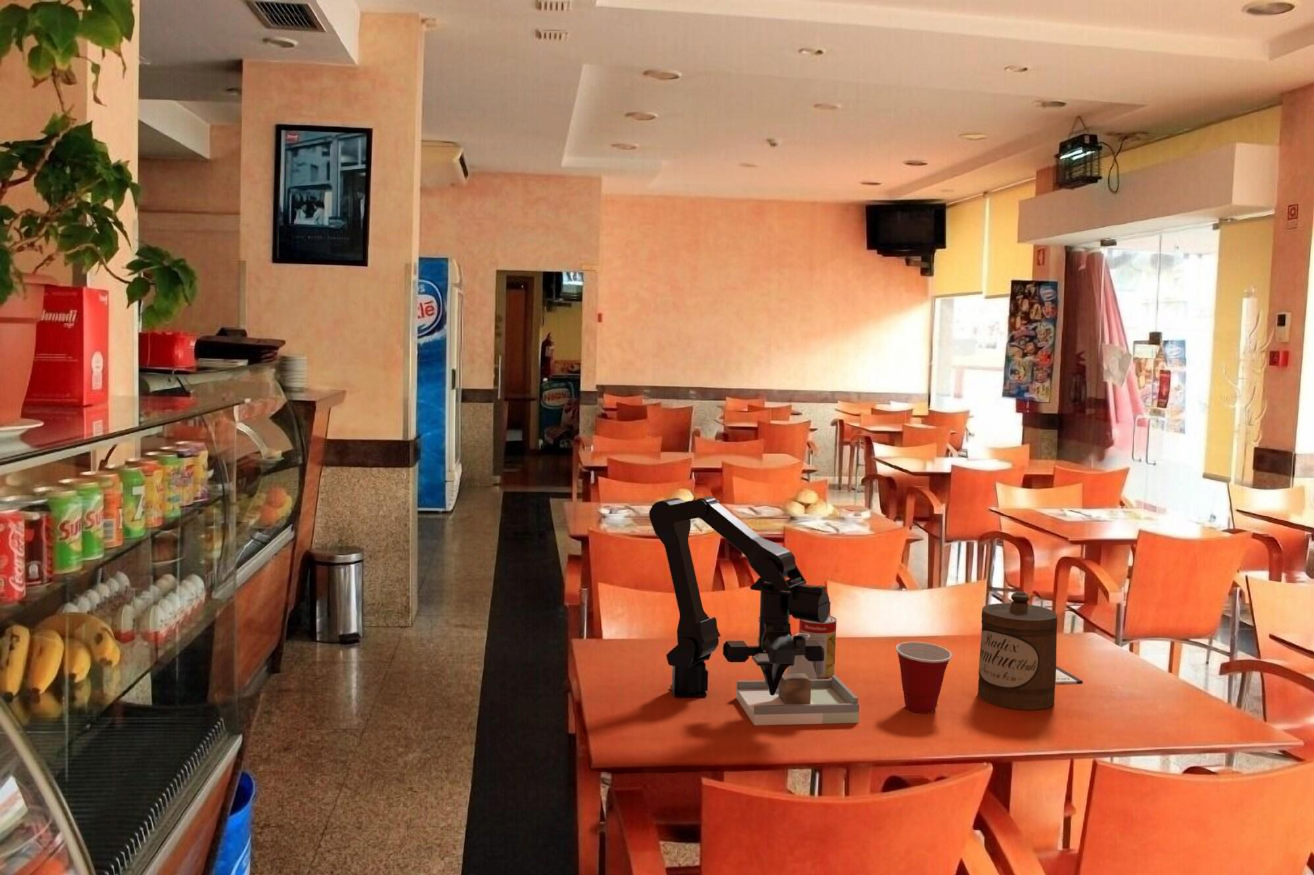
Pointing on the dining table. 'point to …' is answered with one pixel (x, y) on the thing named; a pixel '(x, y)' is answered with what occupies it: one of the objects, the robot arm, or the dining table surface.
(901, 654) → the plastic cup
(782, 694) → the walnut block
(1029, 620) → the wooden container
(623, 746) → the dining table surface
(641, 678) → the dining table surface
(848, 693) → the box
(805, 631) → the canned food
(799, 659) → the flask
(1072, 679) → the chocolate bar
